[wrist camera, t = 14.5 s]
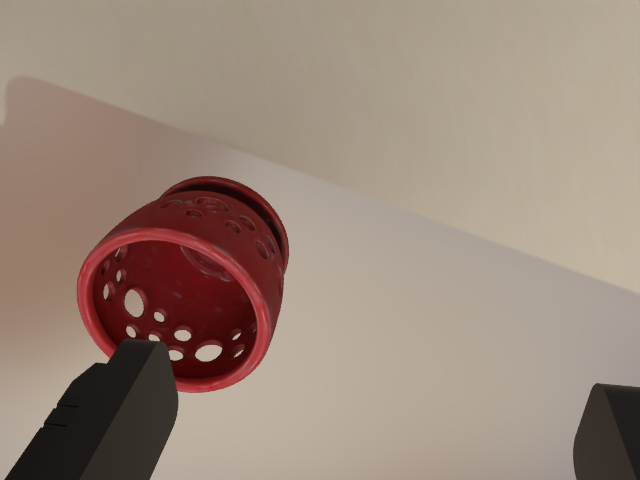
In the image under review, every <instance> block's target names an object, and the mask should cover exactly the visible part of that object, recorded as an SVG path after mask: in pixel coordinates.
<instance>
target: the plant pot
mask: <svg viewBox="0 0 640 480" xmlns="http://www.w3.org/2000/svg"><path fill="white" fill-rule="evenodd" d="M120 247H121V248H120ZM119 248H120V251H119V253H118V254H117V256H116V257H115V255H116V253H117V251H118V249H119ZM288 257H289V246H288V238H287V234H286V231H285V228H284V226H283V224H282V221H281V220H280V218H279V216H278V215H277V213H276V212H275V210H274V209H273V208H272V207H271V205H270V204H269V203H268V202H267V201H266V200H265V199H264V198H263V197H261V196H260V195H259V194H258V193H257V192H255V191H253V190H252V189H251V188H249V187H247V186H245V185H243V184H241V183H238V182H236V181H233V180H230V179H227V178H221V177H214V176H202V177H195V178H191V179H187V180H184V181H182V182H180V183H178V184H176V185H174V186H172V187H171V188H170V189H168V190H167V191H166V192H165V193H164V194H162V196H161V197H160V198H159V199H157V200H155V201H153V202H151V203H149V204H147V205H145V206H143V207H142V208H140V209H139V210H137V211H135V212H134V213H132V214H131V215H130V216H128V217H127V218H125V219H124V220H123V221H122V222H121V223H119V224H118V225H117V226H116V227H115V228H114V229H112V230H111V231H110V232H109V233H108V234H107V235H106V236H105V237H104V238H103V239H102V240H101V241H100V242H99V244H98V245H97V246H96V247H95V248H94V249H93V250H92V251H91V252H90V253H89V255H88V256H87V258H86V259H85V261H84V263H83V265H82V267H81V270H80V273H79V277H78V281H77V301H78V306H79V311H80V314H81V317H82V320H83V322H84V325H85V327H86V329H87V331H88V332H89V334H90V336H91V337H92V339H93V340H94V342H95V343H96V344H97V345H98V347H99V348H100V349H101V350H102V351H103V352H104V353H105V354H106V355H107V356H108V357H109V358H111V357H112V355H113V354H114V352H115V351H116V349H117V347H118V346H119V345H120V343H121V342H122V341H123V340H125V339H138V340H149V335H150V334H153V335H156V336H158V338H159V339H160V342H164V343H165V344H166V346H167V348H168V351H170V350H177V351H179V352H181V353H182V354H183V358H182V359H180V360H177V361H173V360H170V361H171V365H172V370H173V374H174V379H175V383H176V388H177V391H180V392H189V393H201V392H210V391H216V390H219V389H223V388H226V387H229V386H231V385H233V384H235V383H237V382H239V381H241V380H242V379H244V378H245V377H246V376H248V375H249V374H250V373H251V372H252V371H253V370H254V369H255V368H256V367H257V366H258V365H259V364H260V362H261V361H262V359H263V358H264V356H265V354H266V352H267V350H268V348H269V345H270V342H271V340H272V337H273V334H274V330H275V327H276V323H277V319H278V316H279V312H280V308H281V303H282V297H283V285H284V274H285V271H286V268H287V264H288ZM119 270H120V271H121V278H120V281H119V282H118V281H117V278H116V275H117V272H118V271H119ZM106 284H107V285H108V288H109V294H108V297H107V298H106V300H105V299H104V296H103V290H104V287H105V285H106ZM130 289H133V290H135V291H136V292H137V293H138V294H139V295H140V297H141V298H142V301H143V305H144V311H143V313H142V315H141V316H140V317H134V316H132V315H131V314H129V312H128V311H127V310H126V309H125V305H124V300H125V296H126V293H127V292H128V291H129V290H130ZM155 312H159V313H161V314H162V315H163V316H164V321H163V322H159V321H157V320H156V319H155V318H154V313H155ZM127 326H130V327H132V328H133V329H134V330H135V332H136V337H135V338H132V337H130V336H129V335H128V334H127V332H126V328H127ZM255 329H256V330H255ZM178 330H187V331H188V332H190V334H191V338H190V339H189V340H188V341H180V340H177V339H176V338H175V336H174V333H175V332H176V331H178ZM253 332H254V333H253ZM239 333H241V335H240V336H239V337H238V338H237V339H235V340H232V339H233V337H234V336H235V335H237V334H239ZM149 341H150V340H149ZM205 345H218V346H220V347H222V352H221V354H220V355H219V356H218V357H217V358H216V359H214V360H212V361H209V362H203V361H200V360H198V359H197V358H196V357H195V353H196V352H197V350H198V349H199V348H201V347H203V346H205ZM242 350H243V352H242V353H241V354H240V355H239V356H237V357H234V356H235V355H236V354H237V353H238V352H240V351H242Z"/></svg>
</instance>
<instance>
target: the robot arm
mask: <svg viewBox="0 0 640 480" xmlns="http://www.w3.org/2000/svg"><path fill="white" fill-rule="evenodd" d="M177 411H178V393H177V388H176V383H175V379H174V374H173V370H172V365H171V361H170V356H169V352H168V348H167V346H166V344H165V343H164V342H159V341H149V340H138V339H125V340H123V341H122V342H121V343H120V345H119V346H118V347H117V349H116V351H115V352H114V354H113V355H112V357H111V358H110V360H109V361H108V363H107V364H104V363H95V364H94V365H92V366H91V367H90V368H89V369H87V370H86V371H85V372H84V373H82V374H81V375H80V376H79V377H77V378H76V379H75V380H73V382H72V383H71V384H70V386H69V387H68V388H67V390H66V391H65V393H64V394H63V396H62V397H61V399H60V400H59V402H58V403H57V407H56V409H55V408H54V409H53V410H52V412H51V413H50V415H49V416H48V418H47V419H46V420H45V422H44V426H43V428H40V429H39V431H38V432H37V433H36V435H35V436H34V438H33V439H32V441H31V442H30V444H29V445H28V446H27V448H26V449H25V451H24V452H23V454H22V455H21V457H20V458H19V459H18V461H17V462H16V464H15V465H14V467H13V468H12V470H11V471H10V473H9V474H8V475H7V477H6V478H5V480H150V477H151V475H152V473H153V471H154V469H155V466H156V464H157V462H158V460H159V457H160V455H161V453H162V451H163V449H164V446H165V444H166V442H167V440H168V437H169V435H170V433H171V431H172V428H173V426H174V424H175V420H176V417H177ZM573 460H574V469H575V475H576V479H577V480H640V387H631V386H621V385H610V384H599V383H597V384H595V385H594V386H593V387H592V390H591V392H590V395H589V398H588V401H587V404H586V407H585V410H584V413H583V416H582V419H581V422H580V425H579V427H578V430H577V433H576V436H575V441H574V448H573Z"/></svg>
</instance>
